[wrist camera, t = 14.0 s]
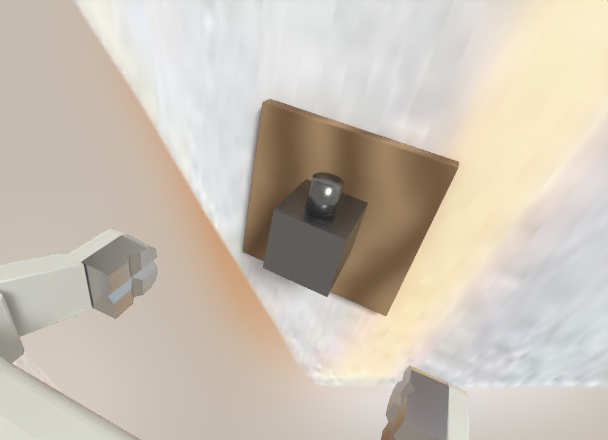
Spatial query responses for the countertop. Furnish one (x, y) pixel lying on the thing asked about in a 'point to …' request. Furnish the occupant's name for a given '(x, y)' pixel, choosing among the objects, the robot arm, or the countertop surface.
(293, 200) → the grey block with cylinder
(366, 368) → the countertop surface
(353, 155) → the brown square plate
